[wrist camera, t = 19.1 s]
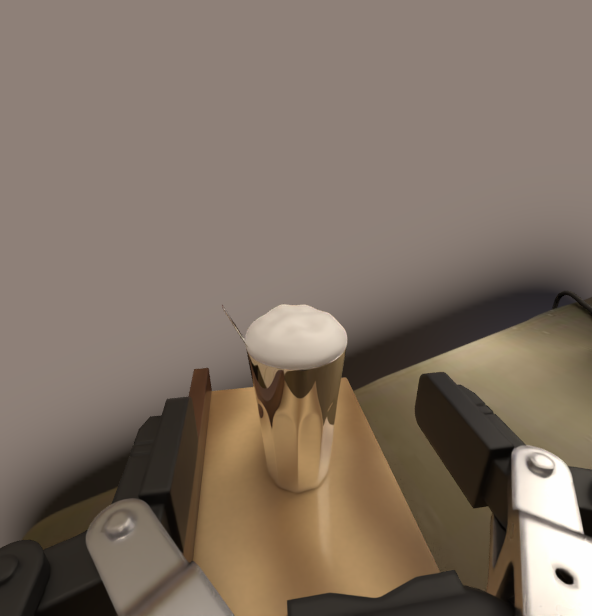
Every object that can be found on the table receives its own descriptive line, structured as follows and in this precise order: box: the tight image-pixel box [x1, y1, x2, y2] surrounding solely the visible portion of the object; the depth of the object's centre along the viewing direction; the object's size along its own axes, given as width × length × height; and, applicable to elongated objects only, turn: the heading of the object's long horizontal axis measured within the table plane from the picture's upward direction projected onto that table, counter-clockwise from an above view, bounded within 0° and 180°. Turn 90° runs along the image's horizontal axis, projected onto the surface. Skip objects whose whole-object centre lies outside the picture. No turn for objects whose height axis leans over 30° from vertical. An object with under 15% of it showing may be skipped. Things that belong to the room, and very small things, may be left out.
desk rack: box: [182, 368, 440, 616], centre depth 21 cm, size 11×15×14 cm
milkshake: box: [222, 305, 347, 493], centre depth 17 cm, size 4×5×10 cm
